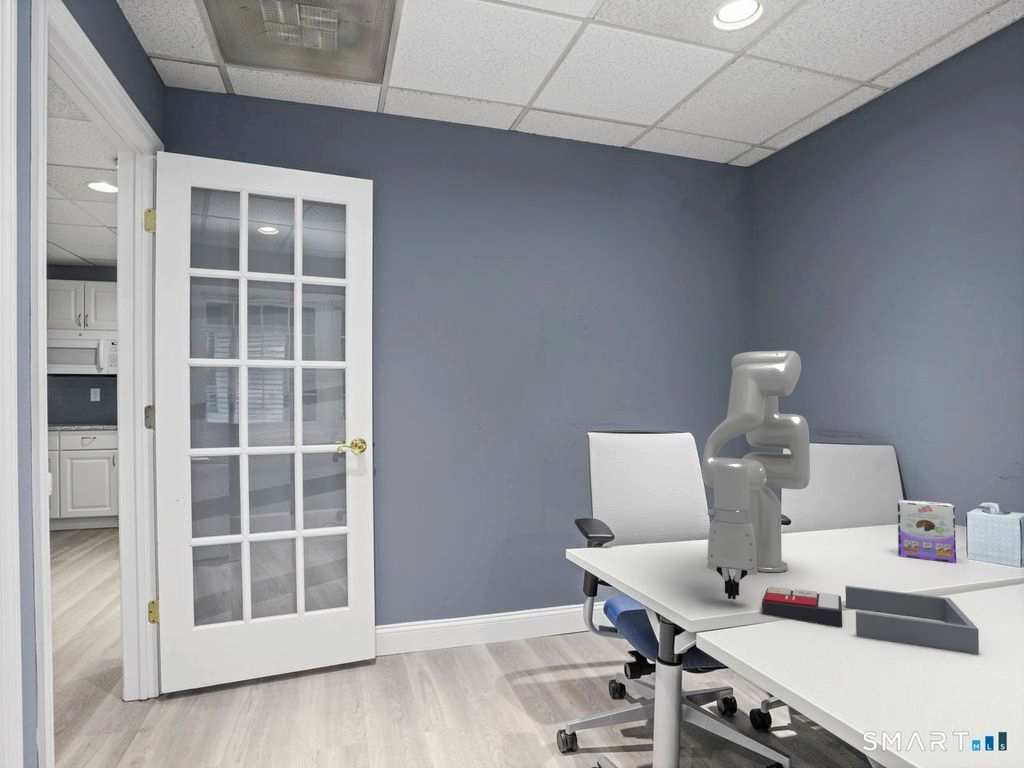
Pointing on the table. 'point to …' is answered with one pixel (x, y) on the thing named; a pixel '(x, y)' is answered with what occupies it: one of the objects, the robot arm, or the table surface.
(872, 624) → the box
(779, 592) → the dark long red-fronted box
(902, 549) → the candy box
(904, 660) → the table surface
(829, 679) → the table surface
